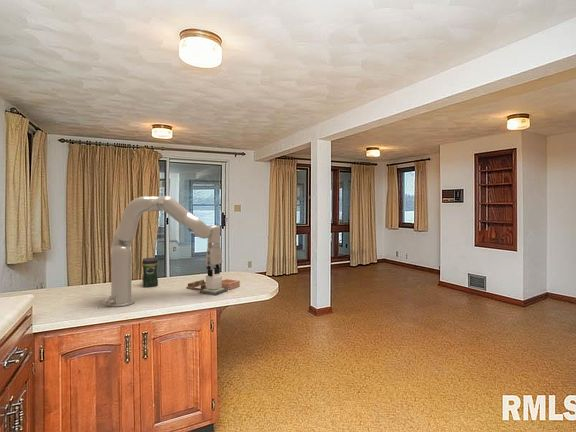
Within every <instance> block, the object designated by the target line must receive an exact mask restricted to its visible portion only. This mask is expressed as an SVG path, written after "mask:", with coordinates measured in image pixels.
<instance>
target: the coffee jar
mask: <svg viewBox="0 0 576 432" xmlns="http://www.w3.org/2000/svg"><path fill="white" fill-rule="evenodd" d="M141 266H142V281H141V283H142V284H141V285H142V287H143V288H152V287H157V286H158V285H159V280H158V279H159V278H158V272H157V271H158V268H157V267H158V258H157V257H144V258H143V259H142V262H141Z"/></svg>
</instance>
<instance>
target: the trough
mask: <svg viewBox="0 0 576 432" xmlns="http://www.w3.org/2000/svg"><path fill="white" fill-rule="evenodd" d="M185 289H186V290H192V291H199V292H200V290H203V289H206V281H205V279H200V280H196V281H193V282H189V283H187V286H185Z"/></svg>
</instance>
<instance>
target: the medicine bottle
mask: <svg viewBox="0 0 576 432" xmlns="http://www.w3.org/2000/svg"><path fill="white" fill-rule="evenodd" d="M212 270H213V276H208V275H205V282H206V288H209V289H217V288H221V287H222V280H223V279H222V278H223V277H222V275H220V274H219V269H218V268H216V267H212Z"/></svg>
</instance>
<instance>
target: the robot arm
mask: <svg viewBox="0 0 576 432" xmlns="http://www.w3.org/2000/svg"><path fill="white" fill-rule="evenodd" d="M161 211H162V212H163V211H164V212H165V213H166V214H168V215H169V216H170V217H172V219H174V220H175V222H178V223H179V224H181V225H183V226H185V227H186V228H188V229H190V230H191V231H192V232H193V235H194V236H195V237H197V238H198V239H207V247H206V248H207V249H206V257H205V260H206V261H205V262H204V266H205V267H206V269H207V276H213V270H212V268H213V266H214V267H215V268H218V269H219V275H220V274H221V272H220V271H221V269H220V268H221V265H222V264H223V253H222V248H221V226H219V225H208V224H206V223H205V222H204V221H202V220H201V219H200V218H199V217H197V216H195V214H193V213H192V212H190V211H189V210H188V209H187V208H185V207H184V206H183V205H181V204H180V203H179V202H178V201H177V200H176V199H174V198H173V197H172V196H169V195H161V196H148V195H144V196H139V197H136V198H134V199H133V200H131V201H130V202H129V203H128V204H127V205H126V206H125V208H124V210H123V213H122V217H121V219H120V223H119V226H117V227H116V229H115V232H114V234H113V239H112V242H111V246H110V251H109V252H110V257H111V261H110V262H111V268H110V269H111V270H110V273H111V276H110V277H111V280H110V281H111V283H110V284H111V285H110V286H111V294H110V295H111V296H109V297H108V298H107V299H103V300H102V304H103V305H105V304H107V305H108V307H114V308H117V307H127V306H131V305H133V304H134V303H135V299H133V298H132V260H133V259H132V258H133V255H132V249H131V246H132V242H133V240H134V239H135V237H136V235H137V229H138V226H139V225H138V224H139V222H140V219H141V216H142V214H144V213H145V212H161Z"/></svg>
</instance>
